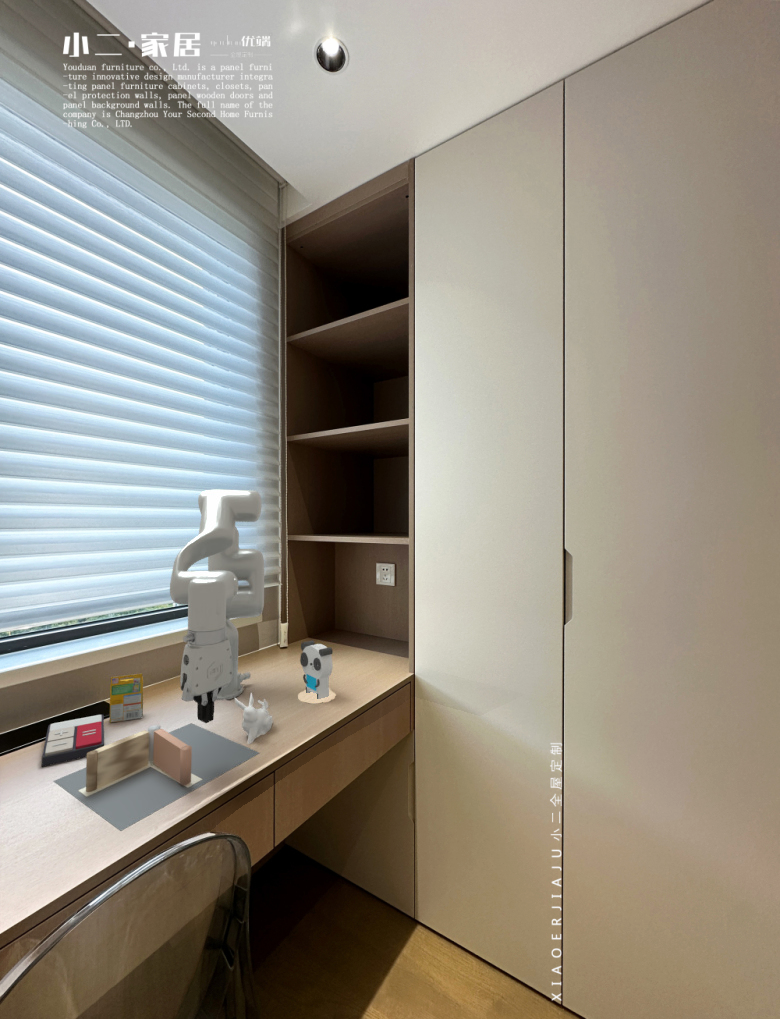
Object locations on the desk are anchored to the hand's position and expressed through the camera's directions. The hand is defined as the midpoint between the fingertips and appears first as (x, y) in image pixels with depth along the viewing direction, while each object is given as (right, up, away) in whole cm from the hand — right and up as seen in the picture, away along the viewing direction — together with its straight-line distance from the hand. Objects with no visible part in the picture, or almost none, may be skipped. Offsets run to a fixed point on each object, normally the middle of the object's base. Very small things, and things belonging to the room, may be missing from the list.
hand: (205, 719), depth 99 cm
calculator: (-32, -9, +6) cm, 34 cm away
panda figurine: (+18, -10, +37) cm, 42 cm away
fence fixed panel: (-15, -8, -7) cm, 18 cm away
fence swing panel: (-6, -8, -5) cm, 11 cm away
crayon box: (-28, -9, +20) cm, 36 cm away
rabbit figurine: (+6, -10, +13) cm, 17 cm away
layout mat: (-8, -9, -3) cm, 12 cm away
